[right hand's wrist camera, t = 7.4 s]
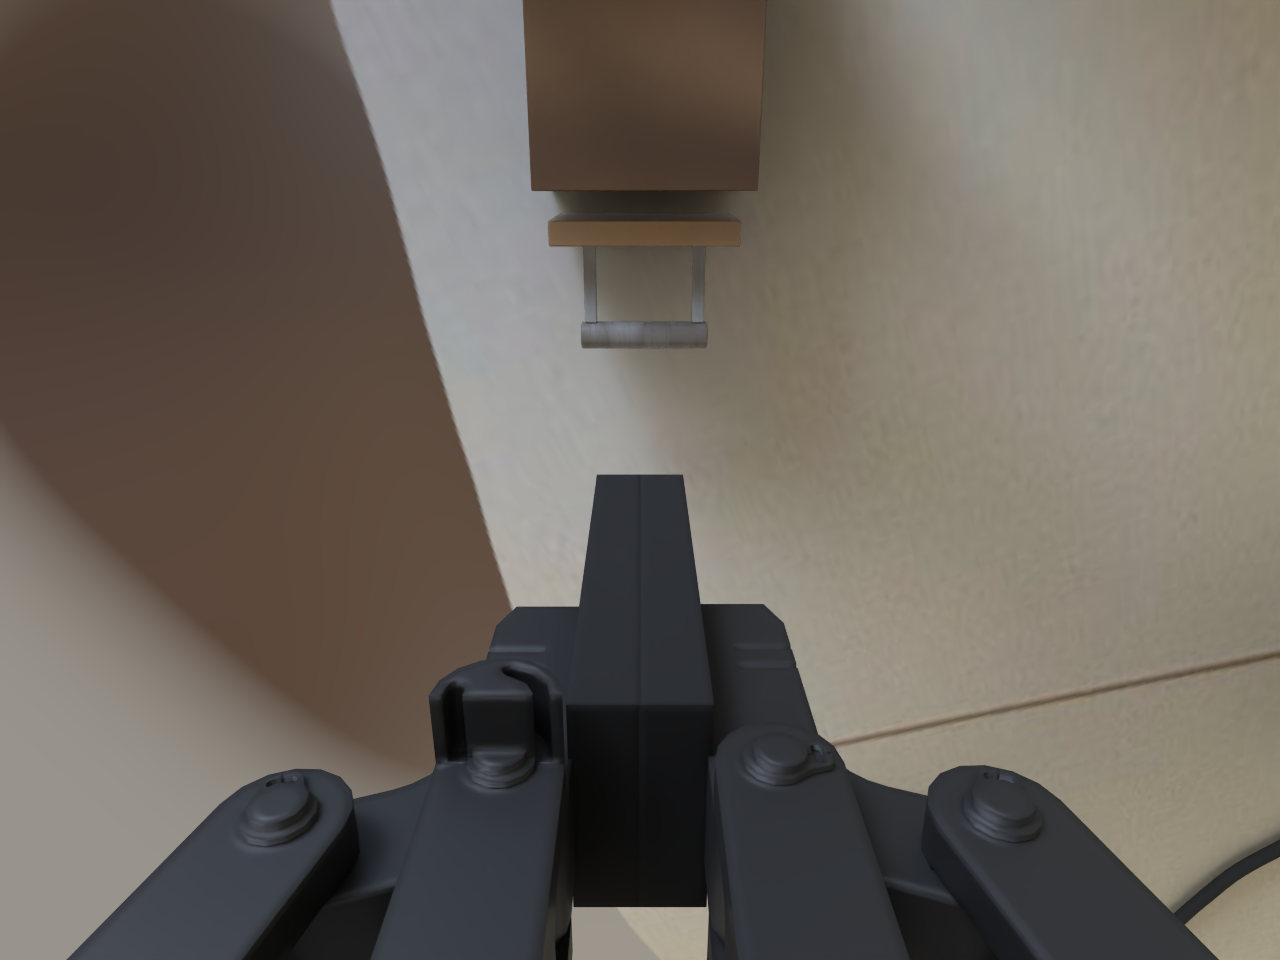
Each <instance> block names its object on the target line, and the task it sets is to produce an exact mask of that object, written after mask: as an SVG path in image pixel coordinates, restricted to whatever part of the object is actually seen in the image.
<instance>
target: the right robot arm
mask: <svg viewBox="0 0 1280 960" xmlns="http://www.w3.org/2000/svg"><path fill="white" fill-rule="evenodd" d="M429 704H430V713H431V722H432V731H433V740H434V750H435V759H436V765H435V768H434V771H433V773H432V774H431V775H429V776H427V777H425V778H423V779H421V780H419V781H417V782H415V783H413V784H410V785H407V786H403V787H401V788H397V789H394V790H390V791H386V792H382V793H378V794H373V795H369V796H365V797H360V798H356V799H353V796H352V790H351V789H350V788H349V787H348V785H347V784H346V783H345V782H344V781H343V779H342V778H341V777H339V776H337V775H334V774H331V773H329V772H326V771H323V770H319V769H293V770H288V771H284V772H279V773H275V774H270V775H267V776H265V777H263V778H261V779H258V780H256V781H254V782H252V783H250V784H248V785H245V786H243V787H241V788H240V789H239V790H238V791H236V792H235V793H234V794H232V795H231V796H230V797H229V798H227V799H226V800H225V801H223V802H222V803H221V804H220V805H219V806H218V807H217V808H216V809H215V810H214V811H213V812H212V813H211V814H210V815H209V816H208V817H207V818H206V819H205V820H204V821H203V822H202V823H201V824H200V825H199V826H198V827H197V828H196V829H195V830H194V831H193V832H192V833H191V834H190V835H189V836H188V837H187V838H186V839H185V840H184V841H183V842H182V843H181V844H180V845H179V846H178V847H177V848H176V849H175V850H174V851H173V852H172V853H171V854H170V855H169V856H168V857H167V859H165V860H164V861H163V863H161V865H160V866H159V867H158V868H157V869H156V870H155V871H154V872H153V873H152V874H151V875H150V876H149V877H148V878H147V879H146V880H145V881H144V882H143V883H142V884H141V885H140V886H139V887H138V888H137V889H136V890H135V891H134V892H133V893H132V894H131V895H130V896H129V897H128V898H127V899H126V900H125V901H124V902H123V903H122V904H121V905H120V906H119V907H118V908H117V909H116V910H115V911H114V912H113V913H112V914H111V915H110V916H109V917H108V918H107V919H106V920H105V921H104V922H103V923H102V924H101V925H100V926H99V927H98V928H97V929H96V931H95V932H94V933H93V934H92V935H91V936H90V937H89V938H88V939H87V940H86V941H85V942H84V943H83V944H82V945H81V946H80V947H79V948H78V949H77V950H76V951H75V952H74V953H73V954H72V955H71V956H70V957H69V958H68V959H67V960H572V951H573V950H572V925H571V912H572V901H573V904H574V907H706V904H707V897H708V908H709V925H708V950H707V960H1219V959H1218V958H1217V957H1216V956H1215V955H1214V954H1213V953H1212V952H1211V951H1210V950H1209V949H1208V948H1207V947H1206V946H1205V945H1204V944H1203V943H1202V942H1201V941H1200V940H1199V939H1198V938H1197V937H1196V936H1195V935H1194V934H1193V933H1192V932H1191V931H1190V930H1189V929H1188V928H1187V927H1186V926H1185V924H1186V923H1187V922H1188V921H1189V920H1190V919H1191V918H1192V917H1193V916H1195V915H1196V914H1197V913H1198V912H1199V911H1200V910H1202V909H1203V908H1204V907H1205V906H1206V905H1208V904H1209V903H1210V902H1211V901H1213V900H1214V899H1215V898H1216V897H1217V896H1219V895H1220V894H1221V893H1222V892H1223V891H1225V890H1226V889H1227V888H1228V887H1230V886H1231V885H1232V884H1234V883H1235V882H1236V881H1238V880H1239V879H1241V878H1242V877H1244V876H1245V875H1247V874H1249V873H1250V872H1252V871H1254V870H1256V869H1257V868H1259V867H1261V866H1263V865H1265V864H1267V863H1269V862H1271V861H1273V860H1275V859H1276V858H1278V857H1280V840H1278V841H1276V842H1274V843H1272V844H1270V845H1269V846H1267V847H1265V848H1263V849H1261V850H1259V851H1257V852H1255V853H1253V854H1251V855H1250V856H1248V857H1246V858H1244V859H1242V860H1241V861H1239V862H1237V863H1236V864H1234V865H1233V866H1231V867H1230V868H1228V869H1227V870H1225V871H1224V872H1223V873H1221V874H1220V875H1219V876H1217V877H1216V878H1215V879H1214V880H1212V881H1211V882H1210V883H1209V884H1208V885H1206V886H1205V887H1204V888H1203V889H1202V890H1200V891H1199V892H1198V893H1197V894H1196V895H1194V896H1193V897H1192V898H1191V899H1190V900H1189V901H1187V902H1186V903H1185V904H1184V905H1183V906H1182V907H1181V908H1179V909H1178V910H1177V911H1176V912H1175V913H1174V914H1173V913H1172V912H1171V911H1170V910H1169V909H1168V908H1167V907H1166V906H1165V905H1164V904H1163V903H1162V902H1161V901H1160V900H1159V899H1158V898H1157V897H1156V896H1155V895H1154V894H1153V893H1152V892H1151V891H1150V890H1149V889H1148V888H1147V887H1146V886H1145V885H1144V884H1143V883H1142V882H1141V881H1140V880H1139V879H1138V878H1137V877H1136V876H1135V875H1134V874H1133V873H1132V872H1131V871H1130V870H1129V869H1128V868H1127V867H1126V866H1125V865H1124V864H1123V863H1122V862H1121V861H1120V860H1119V859H1118V858H1117V857H1116V856H1115V855H1114V854H1113V853H1112V852H1111V851H1110V850H1109V849H1108V848H1107V846H1106V845H1105V844H1104V843H1103V842H1102V841H1101V840H1100V839H1099V838H1098V837H1097V836H1096V835H1095V834H1094V833H1093V832H1092V831H1091V830H1090V829H1089V828H1088V827H1087V826H1086V825H1085V824H1084V823H1083V822H1082V821H1081V820H1080V819H1079V818H1078V817H1077V816H1076V815H1075V814H1074V813H1073V812H1072V811H1071V810H1070V809H1069V808H1068V807H1067V806H1066V805H1065V804H1064V803H1063V802H1062V801H1061V800H1060V799H1058V798H1057V797H1056V796H1054V795H1053V794H1052V793H1050V792H1049V791H1048V790H1047V789H1045V788H1044V787H1043V786H1041V785H1040V784H1039V783H1037V782H1034V781H1032V780H1030V779H1028V778H1026V777H1023V776H1021V775H1019V774H1017V773H1015V772H1013V771H1008V770H1004V769H999V768H995V767H990V766H986V765H978V766H958V767H956V768H953V769H950V770H948V771H945V772H943V773H940V774H939V775H938V777H937V778H936V779H935V780H934V781H933V783H932V784H931V785H930V786H929V790H928V796H926V795H922V794H917V793H913V792H909V791H904V790H900V789H896V788H891V787H887V786H884V785H881V784H878V783H875V782H872V781H868V780H866V779H864V778H862V777H860V776H858V775H856V774H854V773H852V772H850V771H849V770H847V769H846V767H845V764H844V761H843V760H842V758H841V757H840V755H839V754H838V752H837V750H836V749H835V747H834V746H833V745H832V744H830V743H829V742H828V741H826V740H825V739H824V738H822V737H821V736H820V735H818V732H817V729H816V726H815V723H814V720H813V716H812V713H811V710H810V707H809V703H808V700H807V697H806V694H805V690H804V687H803V684H802V681H801V678H800V674H799V671H798V668H796V661H795V658H794V655H793V652H792V649H791V648H790V642H789V639H788V636H787V632H786V629H785V626H784V623H783V622H782V621H781V620H780V619H779V618H778V617H777V616H775V615H774V614H773V613H772V612H771V611H770V610H769V609H768V608H767V607H766V606H765V605H764V604H700V597H699V590H698V582H697V575H696V568H695V560H694V553H693V546H692V538H691V531H690V523H689V516H688V509H687V501H686V494H685V487H684V479H683V475H597V479H596V487H595V494H594V501H593V509H592V516H591V523H590V531H589V538H588V546H587V553H586V560H585V568H584V575H583V582H582V590H581V597H580V604H579V607H516V608H515V609H514V610H513V611H512V612H511V613H510V614H509V615H508V616H506V617H505V618H504V619H503V620H502V621H501V622H500V623H499V624H498V625H497V626H496V629H495V632H494V636H493V639H492V642H491V645H490V652H488V655H487V659H486V660H484V661H479V662H476V663H473V664H470V665H467V666H464V667H461V668H458V669H456V670H455V671H453V672H452V673H450V674H449V675H447V676H446V677H444V678H443V679H441V680H440V681H439V682H438V683H437V685H436V686H435V687H434V689H433V690H432V692H431V693H430V694H429Z"/></svg>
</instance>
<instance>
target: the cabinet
mask: <svg viewBox="0 0 1280 960" xmlns="http://www.w3.org/2000/svg"><path fill="white" fill-rule="evenodd" d="M766 5H767V0H523V16H524V38H525V59H526V81H527V103H528V125H529V147H530V169H531V190H532V191H757V190H758V174H759V153H760V132H761V111H762V89H763V68H764V47H765V26H766Z"/></svg>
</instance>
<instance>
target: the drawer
mask: <svg viewBox="0 0 1280 960" xmlns="http://www.w3.org/2000/svg"><path fill="white" fill-rule="evenodd" d="M548 235H549V246H583V255H584V295H585V322H582V324H581V344H582V348H706V347H707V339H708V328H707V322H705V321H704V286H705V248H706V246H740V235H741V221H740V220H738V219H737V218H735V217H734V216H732V215H730V214H729V213H560V214H558V215H557V216H555V217H554V218H552V219H551V220H549V221H548ZM596 246H693V266H692V314H691V320H692V321H674V322H597V281H596Z"/></svg>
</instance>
